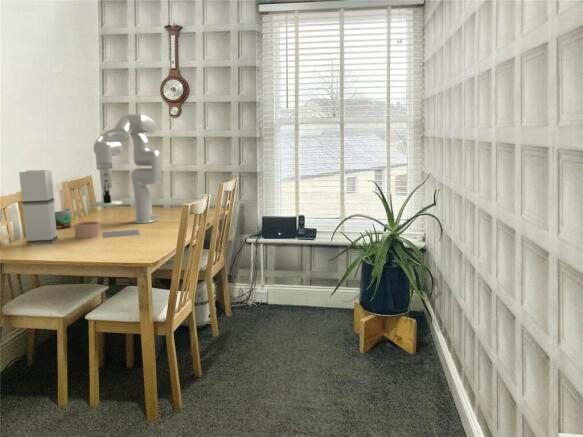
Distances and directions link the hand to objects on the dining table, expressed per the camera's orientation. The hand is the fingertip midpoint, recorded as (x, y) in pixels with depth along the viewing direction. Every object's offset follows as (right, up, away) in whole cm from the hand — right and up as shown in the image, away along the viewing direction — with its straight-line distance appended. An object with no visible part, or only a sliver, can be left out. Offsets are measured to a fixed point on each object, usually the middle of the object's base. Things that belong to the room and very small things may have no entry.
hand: (107, 201), depth 270 cm
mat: (+6, -17, +4) cm, 18 cm away
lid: (0, -1, 0) cm, 1 cm away
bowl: (-10, -18, 0) cm, 20 cm away
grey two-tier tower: (-28, -20, -11) cm, 36 cm away
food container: (-33, -14, +29) cm, 47 cm away
